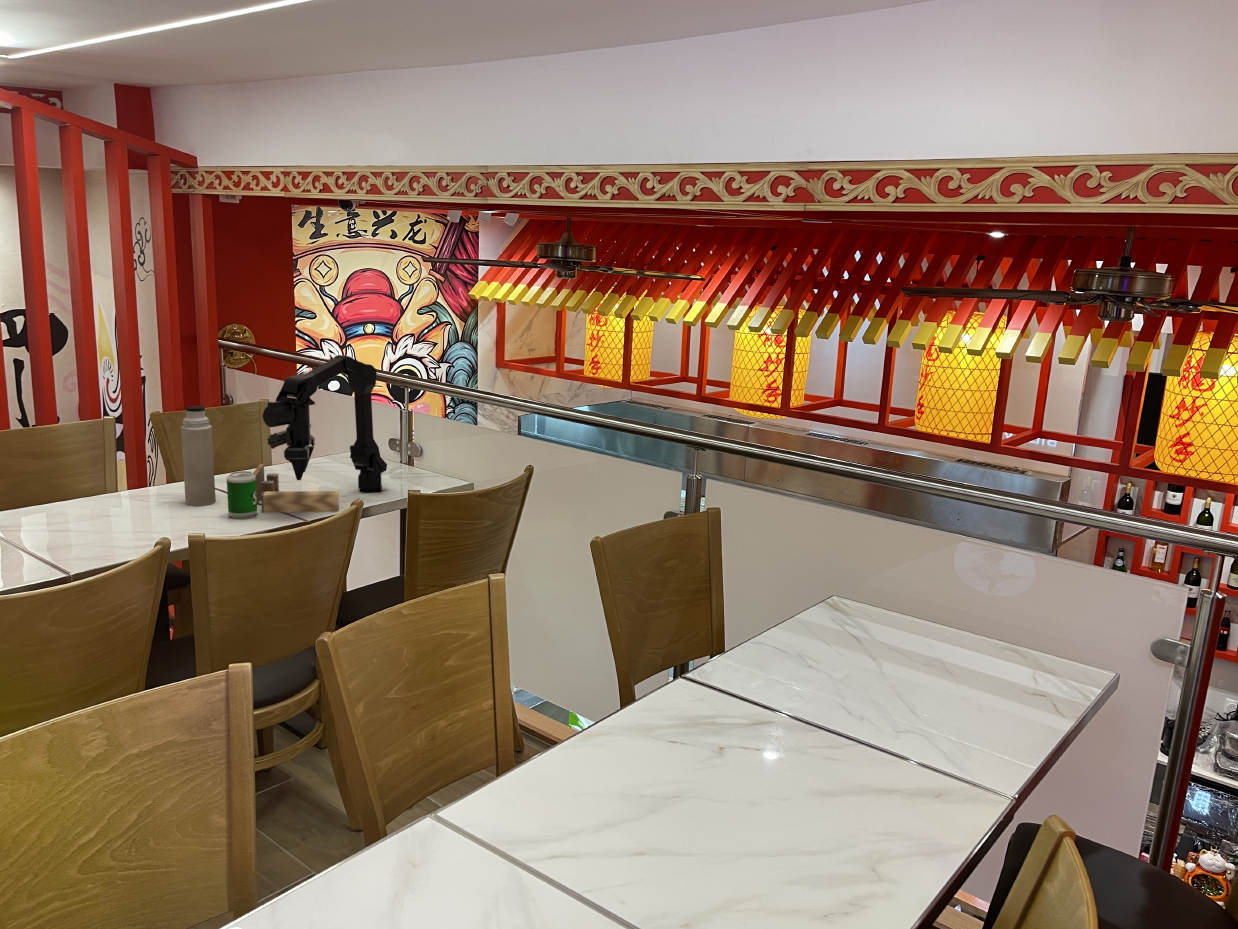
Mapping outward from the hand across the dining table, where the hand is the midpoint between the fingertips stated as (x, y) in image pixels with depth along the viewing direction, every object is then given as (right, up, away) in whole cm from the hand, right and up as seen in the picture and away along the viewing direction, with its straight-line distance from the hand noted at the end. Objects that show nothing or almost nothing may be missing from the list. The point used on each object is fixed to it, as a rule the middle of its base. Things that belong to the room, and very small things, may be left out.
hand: (300, 476), depth 268 cm
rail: (-1, -10, +2) cm, 10 cm away
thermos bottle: (-31, -8, +5) cm, 32 cm away
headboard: (-13, -7, +10) cm, 18 cm away
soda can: (-14, -11, -6) cm, 19 cm away
